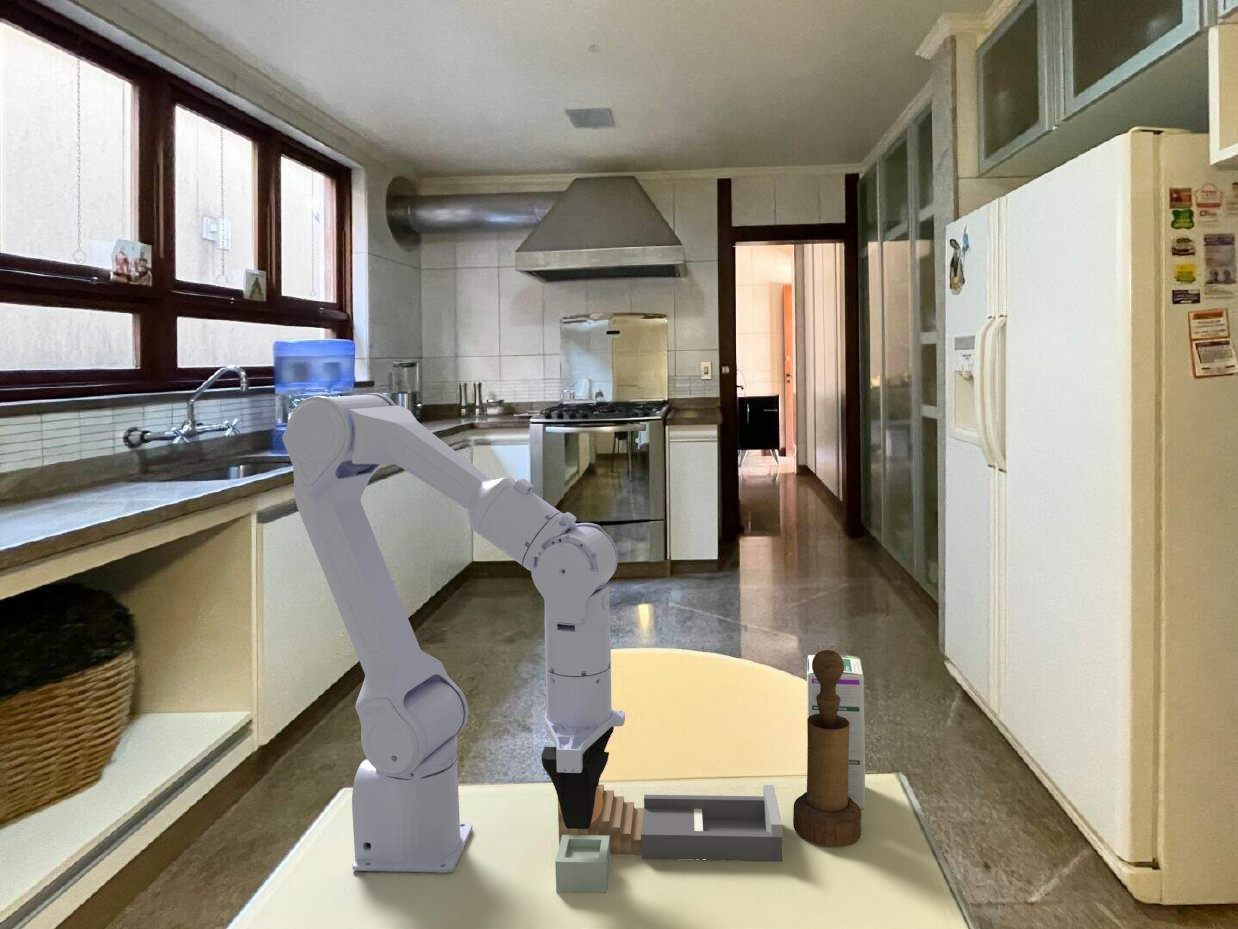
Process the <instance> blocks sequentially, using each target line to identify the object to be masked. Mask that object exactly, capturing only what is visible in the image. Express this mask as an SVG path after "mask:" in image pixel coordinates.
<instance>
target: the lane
mask: <svg viewBox="0 0 1238 929" xmlns="http://www.w3.org/2000/svg"><path fill="white" fill-rule="evenodd" d="M643 808H644V815H643V827H642V830H641V854H640V859H641V860H671V861H674V860H677V861H679V860H678V859H693V860H692V861H697V860H696V859H699V860H698V861H704V860H703V859H706V860H705V861H719V860H725V861H727V862H731V861H732V862H773V863H775V862H777V863H780V862H781V863H782V862H783V822H782V817H781V816H782V815H781V813H780V807H779V803H778V799H777V794H776V788H775V785H774V784H763V796H761V795H759V796H758V795H701V794H700V795H694V794H691V795H690V794H688V795H687V794H684V795H683V794H643Z"/></svg>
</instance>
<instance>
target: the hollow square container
mask: <svg viewBox="0 0 1238 929" xmlns="http://www.w3.org/2000/svg"><path fill="white" fill-rule="evenodd" d="M554 862H555V863H554V864H555V890H556V891H555V892H556V893H591V894H593V893H594V894H606V893H607V891H608V884H609V878H610V877H609V876H610V870H611V854H610V836H602V835H562V838H561V842H560V845H559V844H558V850H557V854H556V858H555V861H554Z"/></svg>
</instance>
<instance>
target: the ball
mask: <svg viewBox="0 0 1238 929" xmlns="http://www.w3.org/2000/svg"><path fill="white" fill-rule="evenodd" d="M558 807H559V811H560V813H561V808H560V804H559V800H558V799H557V808H558ZM602 807H603V797H602V793H601V791H600V789H599V787H598V786H597V788H596V795H595V803H594V810H593V816H592V820H591V823H592V822H594V821H595V820H596V819H597V818H598V816H599V815H600V813H601V811H602ZM561 815H562V813H561Z"/></svg>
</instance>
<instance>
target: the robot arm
mask: <svg viewBox="0 0 1238 929" xmlns="http://www.w3.org/2000/svg"><path fill="white" fill-rule="evenodd" d="M281 439H282V443H283V445H284V448H285V451H286V452H287V455H288V457H289V459H290V462H291V464H292V468H293V470H292V471H293V488H294V490H293V491H294V492H293V494H294V502H295V504H296V507H297V511H298V512H299V516H300V517H301V520H302V522H303V524H304V528H305V530H306V532H307V535H308V537H309V540H310V542H311V544H312V547H313V549H314V552H315V555H316V557H317V559H318V562H319V564H320V567H321V569H322V572H323V575H324V577H325V579H326V581H327V582H326V583H327V584H328V586H329V589H330V592H331V594H332V596H333V598H334V601H335V604H336V606H337V608H338V611H339V613H340V616H341V618H342V619H341V620H342V621H343V623H344V626H345V629H346V631H347V634H348V636H349V638H350V641H351V643H352V646H353V649H354V651H355V653H356V656H357V658H358V660H359V663H360V666H361V668H362V671H363V672H364V680H363V683H362V686H361V689H360V691H359V694H358V696H357V699H356V701H355V707H354V709H355V711H356V713H357V716H358V718H359V722H360V723H359V724H360V727H361V728H360V730H361V731H360V743H361V747H362V751H363V753H364V756H365V757H366V759H364V760H363V761H362V762H360V764H359V767H358V769H357V771H356V773H355V777H354V779H353V780H354V781H353V785H352V793H351V794H352V795H351V809H352V810H351V811H352V825H353V826H352V829H353V846H354V848H353V849H354V861H353V863H352V865H351V866H352V870H354V871H357V872H358V871H363V872H364V871H366V872H369V871H370V872H416V873H417V872H418V873H451V872H454V870H455V869H456V866H457V865H458V864H457V863H458V862H459V859H460V858H461V855H462V853H463V851H464V848H465V846H466V845H467V842H468V840H469V838H470V836H471V833H472V830H473V824H472V823H469V822H461V821H460V820H461V818H460V801H459V800H460V798H459V796H460V795H459V778H458V777H459V776H458V752H457V751H458V750H457V747H458V734H460V733H461V732H462V731H463V729H464V728H465V726H466V724H467V722H468V718H469V705H468V701H467V699H466V695H465V694H464V693H463V690H461V688H460V687H459V686H458V685H457V684H456V683H455V682H454V681H453V680H452V679H451V678H450V677H449V675H448V673H447V671H446V669H445V667H444V665H443V662H442V661H440V660H439V659H437V658H435V657H433V656H432V655H430V654H428V653H426V652H425V651H423V650H422V649H421V646H420V645H419V642H418V640H417V636H416V634H415V632H414V629H413V628H412V625H411V623H410V620H409V618H408V615H407V613H406V611H405V608H404V605H403V602H402V600H401V598H400V595H399V593H398V590H397V588H396V585H395V583H394V580H393V578H392V576H391V573H390V571H389V568H388V566H387V563H386V561H385V559H384V555H383V554H382V550H381V549H380V546H379V543H378V541H377V538H376V536H375V533H374V531H373V529H372V527H371V524H370V521H369V519H368V516H367V514H366V511H365V509H364V507H363V503H362V500H361V499H362V496H363V495H364V492H365V491H366V488H367V486H368V484H369V482H370V480H371V478H372V476H373V475H374V474H375V473H376V472H377V471H378V470H379V469H380V467H382V465H396V466H398V467H400V468H401V469H403V470H404V471H406V472H408V473H409V474H411V475H412V476H414V477H416V478H417V479H419V480H420V481H422V482H423V483H424V484H426V485H428V486H430V487H431V488H433V489H434V490H436V491H438V492H439V493H440V494H442V495H444V496H445V497H448V499H450V500H452V501H454V502H455V503H456V504H458V505H460V506H461V507H463V508H465V509H466V510H467V512H468V513H467V514H468V519H469V522H470V527H471V530H473V531H474V532H475V533H476V534H478V535H480V536H481V537H482V538H483V539H484V540H487V542H489V543H491V545H492V546H495V547H496V548H498V549H499V550H500V551H502V552H503V553H504V554H506V555H507V556H508V557H510V558H511V559H513V560H514V561H515V562H517V563H518V564H519V565H521V566H522V567H523V568H525V569H527V571H530V575H531V578H532V581H533V585H534V586H535V588H536V590H537V591H538V592H539V593H540V594H541V596H542V598H543V600H544V650H545V651H544V652H545V658H544V659H545V693H546V694H545V695H546V696H545V698H546V702H545V703H546V711H545V713H544V725H545V728H546V730H547V733H548V735H549V737H550V739H551V740H552V742H553V744H554V746H544V748H543V750H542V752H541V764H542V767H543V769H544V770H545V772H546V773H547V775H548V776H549V778H550V780H551V782H552V784H553V786H554V790H555V791H556V796H557V801H558V800H559V804H560V808H561V813H562V817H563V820H564V823H565V826H566V828H567V829H589V827H590V824H591V820H592V816H593V810H594V803H595V795H596V788H597V786H598V785H600V778H601V776H602V774H603V772H604V770H605V768H606V766H607V764H608V760H609V754H610V752H609V751H606V748H607V745H608V743H609V741H610V738H611V736H612V734H613V733H614V728H615V727H622V726H624V725H625V721H626V713H625V712H626V711H624V710H621V709H613V708H612V650H611V645H612V644H611V642H612V641H611V640H612V639H611V638H612V637H611V636H612V635H611V634H612V633H611V612H610V611H611V610H610V585H609V584H607V582H609V580H610V579H611V578H612V577H613V575H614V574H615V573H616V570H617V567H618V562H619V555H618V549H617V546H616V544H615V543H614V541H613V538H612V537H611V536H610V535H609V534H608V533H606V531H605V530H604V529H603V528H602V526H600V525H599V524H596V523H593V522H591V523H590V522H580V523H576V521H577V516H575V515H574V514H573V513H571V512H569V511H567V512H565V513H564V512H561V511H560V510H558V509H557V508H556V507H554V506H553V505H551V504H550V503H548V502H547V501H546V500H544V499H543V498H541V497H540V496H539V495H537V494H535V493H534V492H533V489H534V487H535V485H534V484H533V483H531V482H530V481H529V480H527V479H526V478H521V479H520V478H519V479H514V478H512V477H510V476H505V477H500V478H497V479H491V478H489V476H487V475H486V474H485V473H483V472H482V471H481V470H480V469H478V468H477V467H476V466H475V465H473V464H472V463H471V462H469V460H468V459H466V458H465V457H463V455H461V454H459V453H458V452H457V451H456V450H454V448H452V447H450V445H448V444H447V443H446V442H444V441H443V440H441V439H440V438H439V437H438V436H436V435H435V433H433V432H432V431H430V430H429V429H428V428H426V427H425V426H424V425H423V424H421V423H420V422H419V421H418V420H417V419H416V416H414V414H413V412H412V411H411V410H409V409H408V408H405V407H403V406H401V405H400V404H399V405H397V404H396V403H395V402H394V401H393V400H392V399H391V398H390V397H389V396H387V395H384V394H381V393H378V392H372V393H371V392H369V393H365V394H361V395H343V396H330V397H329V396H323V395H313V396H310V397H307V398H305V399H304V400H302V401H301V402H299V403H298V404H297V405H296V407H295V408H294V409H293V411H292V414H291V416H290V418H289V420H288V423H287V425H286V427H285V430H284V432H283V434H282V435H281ZM605 584H606V585H605Z"/></svg>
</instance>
